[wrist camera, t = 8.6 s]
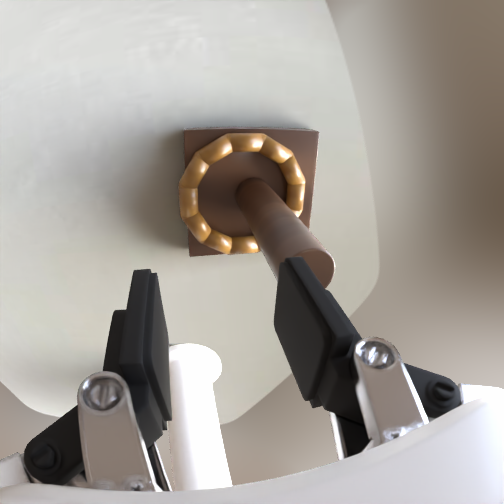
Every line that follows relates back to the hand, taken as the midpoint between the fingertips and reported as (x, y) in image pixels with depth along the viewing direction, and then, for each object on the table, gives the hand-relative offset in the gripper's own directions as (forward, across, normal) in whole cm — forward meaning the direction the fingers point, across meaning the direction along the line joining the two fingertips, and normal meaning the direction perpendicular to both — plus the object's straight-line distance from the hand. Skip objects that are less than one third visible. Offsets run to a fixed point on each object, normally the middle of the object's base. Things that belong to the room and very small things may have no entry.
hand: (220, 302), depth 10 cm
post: (+12, -4, 0) cm, 13 cm away
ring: (+10, -3, 0) cm, 11 cm away
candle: (+12, +2, +18) cm, 22 cm away
